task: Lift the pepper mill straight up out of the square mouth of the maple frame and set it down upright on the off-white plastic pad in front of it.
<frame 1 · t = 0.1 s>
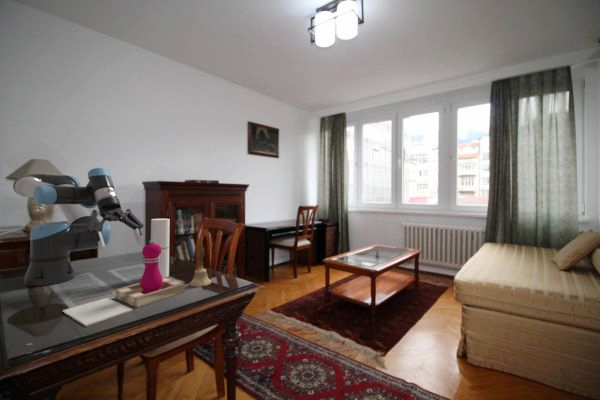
hand: (122, 245, 105), 15 cm above the table, tool tilted 35°, fingers open, 13 cm apart
hand bell: (200, 283, 109), on the table
maple frame: (151, 294, 96), on the table
cylindrical container: (159, 276, 117), on the table
plastic pad: (98, 311, 82), on the table
pepper mill: (151, 295, 96), resting in maple frame
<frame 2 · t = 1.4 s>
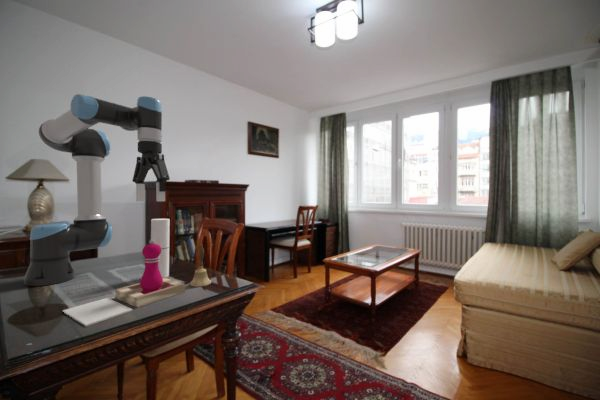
hand: (150, 201, 96), 34 cm above the table, tool pointing down, fingers open, 13 cm apart
nothing on the table moved.
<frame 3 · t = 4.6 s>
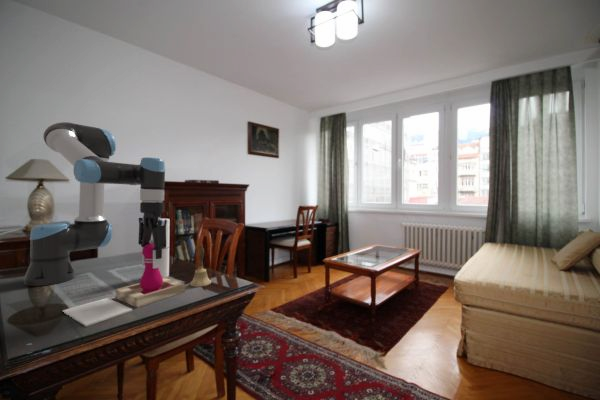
hand: (151, 266, 96), 10 cm above the table, tool pointing down, fingers closed on pepper mill, 6 cm apart
pepper mill: (151, 295, 96), resting in maple frame, touching gripper
everything else where it was.
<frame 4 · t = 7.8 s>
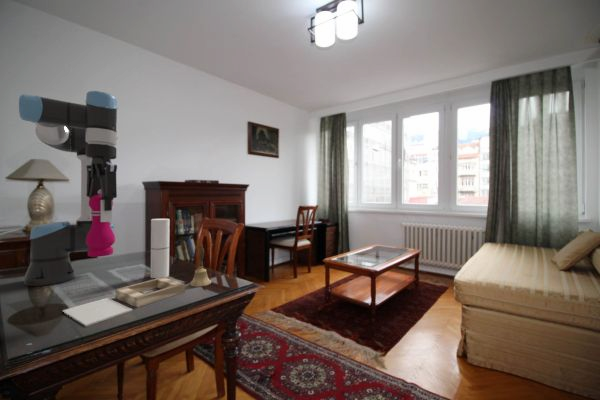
hand: (100, 220, 82), 28 cm above the table, tool pointing down, fingers closed on pepper mill, 6 cm apart
pepper mill: (100, 255, 82), point 17 cm above the table, touching gripper
everything else where it was.
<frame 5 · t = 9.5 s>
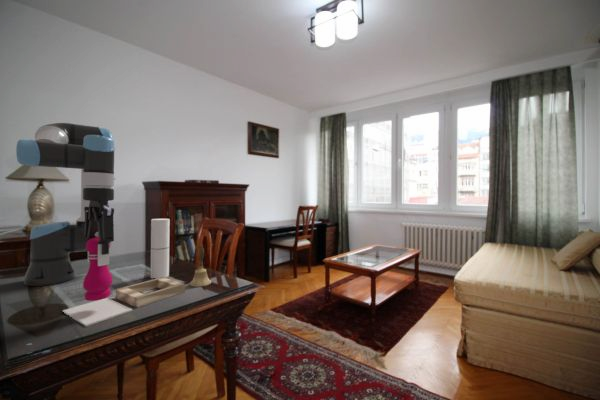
hand: (98, 263, 82), 15 cm above the table, tool pointing down, fingers closed on pepper mill, 6 cm apart
pepper mill: (98, 297, 82), point 4 cm above the table, touching gripper
everything else where it was.
when the fingers open (12 cm above the table, at t = 10.8 s): pepper mill stays where it is, resting on plastic pad.
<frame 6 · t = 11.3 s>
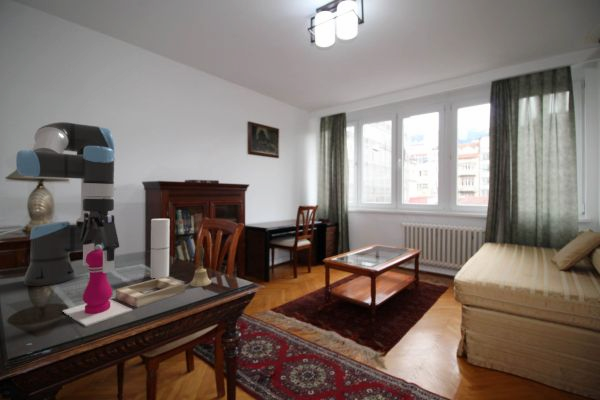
hand: (98, 268, 82), 13 cm above the table, tool pointing down, fingers open, 12 cm apart
pepper mill: (97, 310, 82), resting on plastic pad
everything else where it was.
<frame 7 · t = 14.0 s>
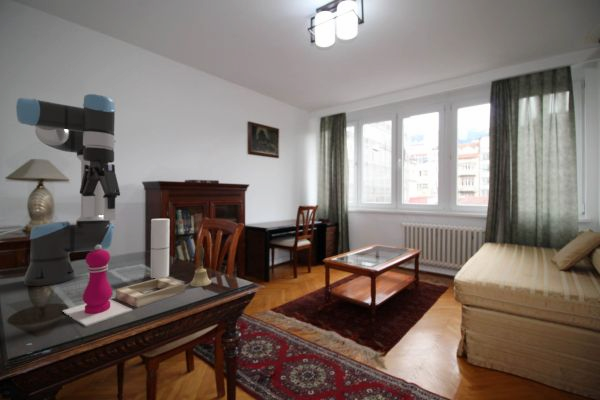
hand: (98, 218, 82), 28 cm above the table, tool pointing down, fingers open, 13 cm apart
nothing on the table moved.
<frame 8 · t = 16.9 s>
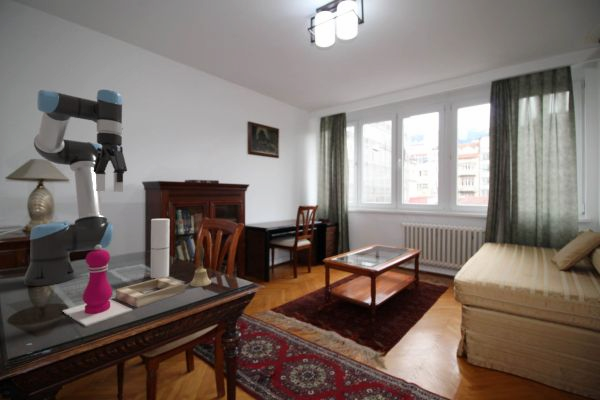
hand: (109, 191, 99), 37 cm above the table, tool pointing down, fingers open, 13 cm apart
nothing on the table moved.
at the end: pepper mill inside the target area on the plastic pad (0.1 cm from its centre), point 0.3 cm above the plastic pad's base; pepper mill tilted 0°; the gripper is holding nothing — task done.
